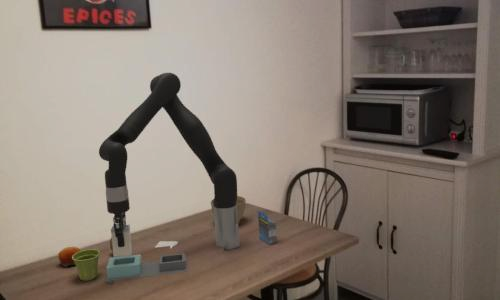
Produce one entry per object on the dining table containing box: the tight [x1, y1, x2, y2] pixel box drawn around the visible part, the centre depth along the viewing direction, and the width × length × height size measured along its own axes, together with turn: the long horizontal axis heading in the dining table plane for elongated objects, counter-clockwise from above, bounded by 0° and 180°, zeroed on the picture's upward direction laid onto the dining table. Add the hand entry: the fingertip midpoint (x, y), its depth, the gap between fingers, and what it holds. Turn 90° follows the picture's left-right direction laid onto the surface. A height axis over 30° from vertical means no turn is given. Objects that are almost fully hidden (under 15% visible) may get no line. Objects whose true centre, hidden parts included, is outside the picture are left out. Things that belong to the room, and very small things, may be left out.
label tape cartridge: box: [257, 210, 277, 245], centre depth 190 cm, size 9×4×12 cm, turn 26°
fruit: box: [57, 246, 81, 268], centre depth 177 cm, size 8×8×8 cm
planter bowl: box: [210, 195, 246, 224], centre depth 213 cm, size 16×16×11 cm
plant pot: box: [72, 248, 101, 282], centre depth 164 cm, size 9×9×9 cm
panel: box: [105, 252, 188, 285], centre depth 167 cm, size 28×12×5 cm, turn 99°
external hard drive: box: [154, 240, 179, 249], centre depth 187 cm, size 2×8×12 cm
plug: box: [110, 224, 133, 257], centre depth 164 cm, size 6×4×10 cm, turn 99°
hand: (122, 243), depth 164 cm, fingers closed on plug, 4 cm apart
